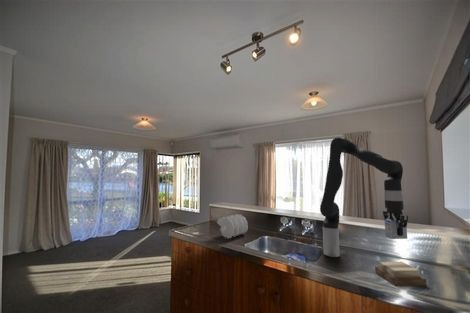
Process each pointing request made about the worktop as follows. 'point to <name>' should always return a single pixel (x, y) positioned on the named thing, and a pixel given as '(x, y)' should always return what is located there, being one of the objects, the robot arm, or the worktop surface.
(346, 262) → the worktop surface
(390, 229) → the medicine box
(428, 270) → the worktop surface
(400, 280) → the plinth
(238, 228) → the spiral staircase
